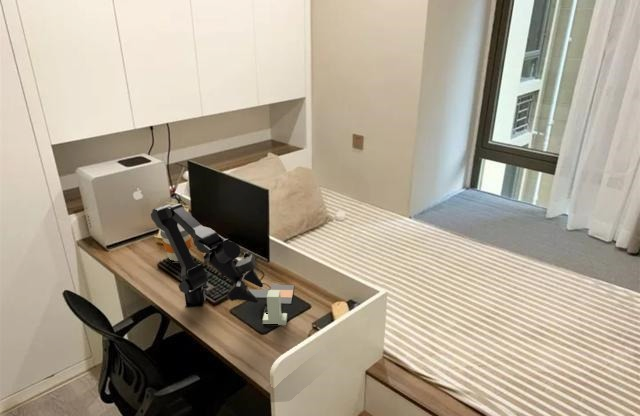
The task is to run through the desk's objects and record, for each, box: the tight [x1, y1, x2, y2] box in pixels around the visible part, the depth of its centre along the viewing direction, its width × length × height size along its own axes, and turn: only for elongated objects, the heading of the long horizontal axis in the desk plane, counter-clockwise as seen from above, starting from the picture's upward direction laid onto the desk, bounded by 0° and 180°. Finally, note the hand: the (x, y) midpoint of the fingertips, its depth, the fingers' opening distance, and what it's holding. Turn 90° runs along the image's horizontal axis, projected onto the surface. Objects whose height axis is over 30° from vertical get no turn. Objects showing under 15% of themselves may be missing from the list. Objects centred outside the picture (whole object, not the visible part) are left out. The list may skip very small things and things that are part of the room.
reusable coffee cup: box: [160, 224, 192, 261], centre depth 195 cm, size 13×13×15 cm
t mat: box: [248, 284, 295, 305], centre depth 171 cm, size 23×12×1 cm, turn 87°
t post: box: [262, 289, 288, 326], centre depth 154 cm, size 8×4×12 cm, turn 87°
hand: (260, 293), depth 152 cm, fingers open, 9 cm apart
